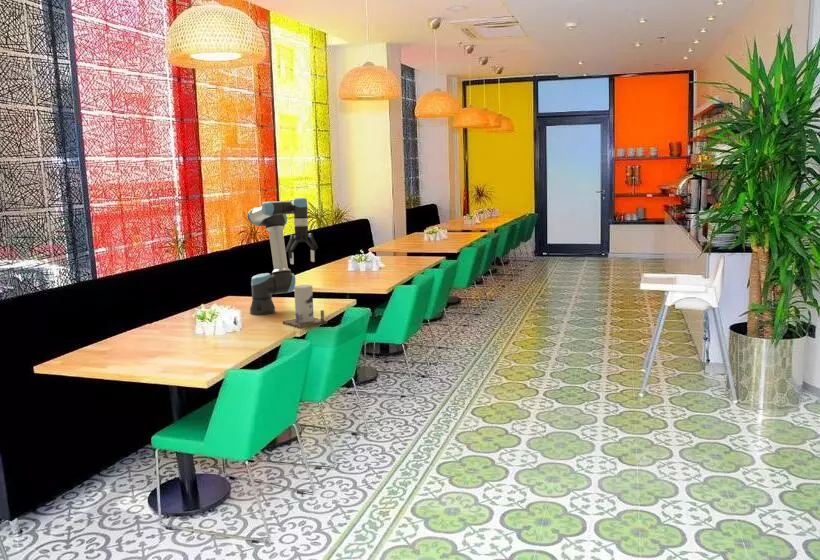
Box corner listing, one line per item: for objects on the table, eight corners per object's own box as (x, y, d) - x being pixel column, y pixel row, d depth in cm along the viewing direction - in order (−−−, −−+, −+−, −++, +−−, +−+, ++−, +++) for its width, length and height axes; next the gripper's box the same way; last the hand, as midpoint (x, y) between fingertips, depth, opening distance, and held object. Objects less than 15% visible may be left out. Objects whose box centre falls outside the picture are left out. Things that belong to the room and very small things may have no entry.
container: (312, 322, 408) (310, 287, 404) (294, 323, 408) (292, 287, 405) (314, 318, 418) (313, 284, 414) (297, 319, 418) (295, 284, 415)
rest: (282, 323, 414) (282, 310, 413) (309, 318, 425) (309, 306, 424) (299, 328, 400) (299, 315, 399) (327, 323, 412) (326, 310, 411)
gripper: (285, 227, 402) (286, 265, 406) (323, 224, 418) (324, 261, 421) (278, 226, 408) (279, 264, 411) (316, 223, 423) (317, 259, 427)
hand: (302, 262), depth 416 cm, fingers open, 13 cm apart
